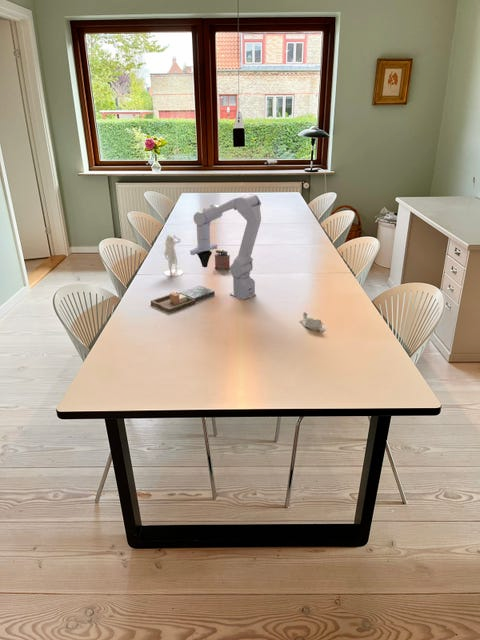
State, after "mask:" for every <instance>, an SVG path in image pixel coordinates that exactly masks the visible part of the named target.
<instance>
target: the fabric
mask: <svg viewBox="0 0 480 640" xmlns="http://www.w3.org/2000/svg"><path fill="white" fill-rule="evenodd" d="M302 317H303V318H301V320H299V321H298V322H299V323H300V324H302V326H304V327H305V328H308V329H310V330H314V331H315V330H316V331H319V333H322V332H324V331H326V329H327V330H328V328H327V327H324V326H323V325H324V323H323V322H322V320H321V319H317V318H316V319H315V318H313V317H308V313H307V312H305V311H304V312H303V314H302Z"/></svg>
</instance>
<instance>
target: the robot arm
mask: <svg viewBox="0 0 480 640" xmlns="http://www.w3.org/2000/svg"><path fill="white" fill-rule="evenodd" d="M261 205H262V202H261V200H260V198H259V197H258V195H256V194H254V193H251V194H248V195H243V196H239V197H235V198H232V199H229V200H228V201H227V202H226V201H225V203H222V204H220V205H219V204H214V203H213V204H210V205H209V207H207V208H203V209H202V210H200V211H197V212H196V213H195V214H194V215H193V222H194V223H195V224H196V240H197V246H196V247H195V248H193V249H190V251H189V253H190V254H189V255H191V256H195V255H197V256H198V258H199V260H200V263H201V267H203V268H207V267H208V264H209V261H210V258H211V256H212V255H213V251H211V250H218V244H216V243H212V244H211V234H210V232H211V229H210V226H211V222H213V221H215V220H217V219H220V218H221V217H222V216H223V213H226V212H228V211H230V210H234V211H237V212H238V213H239V214H240V215H241V217H242V218H244V220H245V221H246V223H245V224H246V225H245V228H244V232H243V235H242V239H241V243H240V247H239V251H238V255H237V256H236V257H235V258H234V260H233V262H232V264H231V265H230V270H229V272H230V274H231V277H232V278H233V279H232V280H233V281H232V283H233V285H232V286H233V291H232V292H229V293H228V294H229V295H230V296H233V297H235V298H238V299H241V300H246V299H249V298H252V297H254V296H256V295H257V293H255V292H256V291H255V289H256V288H255V287H256V281H255V280H254V279H253V278H252V277H251V272H252V270H253V257H252V253H253V250H254V246H255V244H256V240H257V236H258V232H259V229H260V225H261V222H262V214H261Z"/></svg>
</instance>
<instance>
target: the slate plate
mask: <svg viewBox="0 0 480 640" xmlns="http://www.w3.org/2000/svg"><path fill="white" fill-rule="evenodd" d="M178 293H180V294H182V295H185V296H187V297H190V298H192V299H194V300H196V303H197V302H200V301H202V300H206V299H209V298H211V297H213V296H215V295H216V293H215V290H213V289H210V288H207V287H205V286H202V285H198V286H195V287H191V288H188V289H185V290H183V291H179V292H178Z"/></svg>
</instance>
